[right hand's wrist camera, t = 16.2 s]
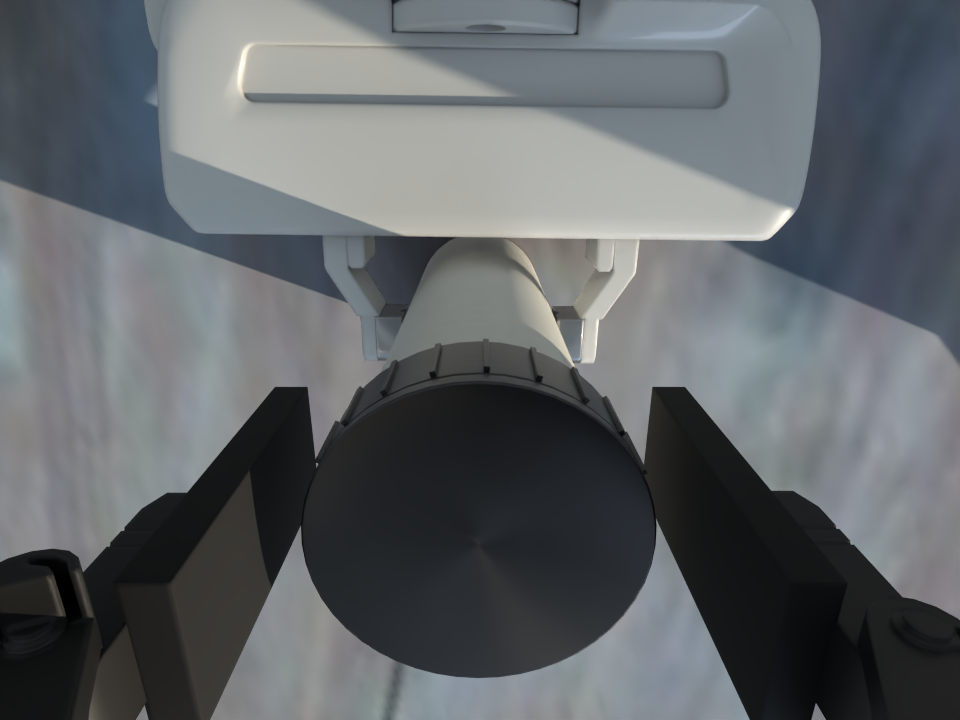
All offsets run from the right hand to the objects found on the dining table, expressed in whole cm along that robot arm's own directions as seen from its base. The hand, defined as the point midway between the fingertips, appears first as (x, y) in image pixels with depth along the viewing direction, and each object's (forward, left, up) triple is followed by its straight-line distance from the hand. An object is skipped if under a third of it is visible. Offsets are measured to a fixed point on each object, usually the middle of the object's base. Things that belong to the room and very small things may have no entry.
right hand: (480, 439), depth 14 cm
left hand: (0, -1, -8) cm, 8 cm away
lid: (0, 0, +4) cm, 4 cm away
